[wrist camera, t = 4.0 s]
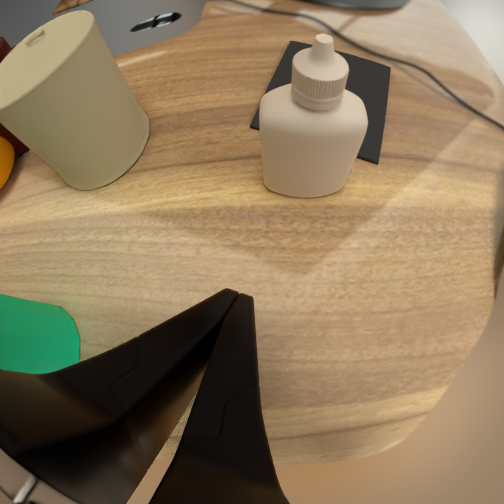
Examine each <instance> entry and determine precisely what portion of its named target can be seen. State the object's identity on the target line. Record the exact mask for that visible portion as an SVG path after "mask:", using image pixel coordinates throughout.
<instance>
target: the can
mask: <svg viewBox="0 0 504 504" xmlns="http://www.w3.org/2000/svg"><path fill="white" fill-rule="evenodd" d="M0 123H1V124H2V125H3V126H4V127H6V128H7V129H8V130H9V131H10V132H11V133H12V134H13V135H15V136H16V137H17V138H18V139H19V140H20V141H21V142H23V143H24V144H25V145H26V146H27V147H28V148H29V149H31V150H32V151H33V152H34V153H35V154H36V155H37V156H38V157H40V158H41V159H42V160H43V161H44V162H45V163H46V164H48V165H49V166H50V167H51V168H52V169H53V170H55V171H56V172H57V173H58V174H59V175H60V176H61V177H62V178H63V180H64V181H65V182H66V183H67V184H68V185H69V186H71V187H73V188H75V189H79V190H93V189H97V188H100V187H103V186H105V185H107V184H109V183H111V182H113V181H115V180H116V179H118V178H119V177H120V176H122V175H123V174H124V173H125V172H126V171H127V170H128V169H129V168H130V167H131V166H132V165H133V164H134V163H135V162H136V160H137V159H138V158H139V156H140V155H141V153H142V151H143V150H144V147H145V145H146V143H147V140H148V137H149V130H150V125H149V119H148V116H147V114H146V112H145V111H144V110H143V108H142V107H140V105H139V103H138V102H137V100H136V98H135V97H134V95H133V93H132V91H131V89H130V88H129V86H128V84H127V82H126V80H125V79H124V77H123V75H122V73H121V71H120V69H119V67H118V66H117V64H116V62H115V60H114V58H113V56H112V54H111V52H110V50H109V48H108V46H107V45H106V43H105V40H104V39H103V36H102V34H101V32H100V30H99V28H98V26H97V24H96V22H95V18H94V16H93V14H92V13H91V12H88V11H75V12H70V13H67V14H64V15H62V16H60V17H57V18H55V19H53V20H51V21H49V22H48V23H46V24H45V25H43V26H41V27H39V28H38V29H37V30H35V31H34V32H32V33H31V34H30V35H28V36H27V37H26V38H25V39H24V40H22V41H21V42H20V43H19V44H18V45H17V46H16V47H15V48H14V49H13V50H12V51H11V52H10V53H9V54H8V55H7V56H6V57H5V58H4V60H3V61H2V62H1V63H0Z"/></svg>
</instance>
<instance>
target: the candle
mask: <svg viewBox="0 0 504 504" xmlns="http://www.w3.org/2000/svg"><path fill="white" fill-rule="evenodd" d="M79 354H80V337H79V334H78V332H77V329H76V326H75V323H74V320H73V318H72V317H71V316H70V315H69V314H68V313H67V312H66V311H65V310H64V309H63V308H62V307H59V306H54V305H49V304H44V303H39V302H34V301H30V300H25V299H21V298H16V297H12V296H7V295H3V294H0V369H3V370H9V371H16V372H23V373H31V374H44V373H50V372H54V371H57V370H60V369H63V368H65V367H68V366H71V365H73V364H76V363H78V361H79Z"/></svg>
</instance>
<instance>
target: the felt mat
mask: <svg viewBox="0 0 504 504" xmlns="http://www.w3.org/2000/svg"><path fill="white" fill-rule="evenodd" d="M306 48H312V45H310V44H306V43H301V42H296V41H290V43H289V45H288V47H287V49H286V51H285V53H284V55H283V57H282V59H281V61H280V63H279V65H278V67H277V70H276V72H275V74H274V76H273V78H272V80H271V82H270V84H269V86H268V88H267V90H266V92H265V94H266V93H268V92H269V91H271V90H273V89H276V88H278V87H281V86H284V85H287V84H291V83H292V61H293V58H294V56H295V55H296V53H298V52H299V51H301V50H303V49H306ZM334 52H336V53H338V54H339V55H341V56H342V57H343V58H344V59H345V60H346V62H347V63H348V65H349V66H348V67H349V73H348V77H347V81H346V85H345V89H346V90H348V91H350V92H352V93H353V94H355V95H357V96H358V97H359V98H360V99H361V100H362V101H363V103H364V106H365V109H366V113H367V118H368V126H367V131H366V134H365V137H364V139H363V142H362V145H361V147H360V150H359V152H358V154H357V157H358V158H360V159H363V160H366V161H369V162H372V163H375V164H378V162H379V156H380V150H381V143H382V137H383V130H384V123H385V115H386V107H387V99H388V89H389V79H390V67H388V66H385V65H382V64H379V63H376V62H373V61H370V60H367V59H364V58H360V57H357V56H354V55H350V54H347V53H343V52H339V51H335V50H334ZM259 108H260V105H259V107H258V110H257V112H256V114H255V116H254V118H253V121H252V123H251V125H250V128H254V129H258V130H260V124H259Z"/></svg>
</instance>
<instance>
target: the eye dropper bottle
mask: <svg viewBox="0 0 504 504" xmlns="http://www.w3.org/2000/svg"><path fill="white" fill-rule="evenodd" d="M348 66H349V65H348V63H347V62H346V60H345V59H344V58H343V57H342V56H341V55H339V54H338V53H336V52H334V44H333V38H332V37H331V36H329V35H326V34H318V35H316V37H315V40H314V42H313V45H312V48H306V49H303V50H301V51H299V52H298V53H296V55H295V56H294V58H293V61H292V83H291V84H287V85H284V86H281V87H278V88H276V89H273V90H271V91H269V92H268V93H266V94H265V95H264V96H263V97H262V99H261V101H260V108H259V124H260V142H261V156H262V169H263V181H264V184H265V186H266V187H267V188H268V189H269V190H271V191H274V192H276V193H279V194H283V195H287V196H291V197H300V198H312V197H320V196H325V195H329V194H332V193H335V192H337V191H339V190H340V189H342V188H343V187H344V185H345V183H346V180H347V178H348V176H349V173H350V171H351V169H352V166H353V164H354V162H355V159H356V157H357V154H358V152H359V150H360V147H361V145H362V142H363V139H364V137H365V134H366V131H367V126H368V118H367V113H366V109H365V106H364V103H363V101H362V100H361V99H360V98H359V97H358V96H357V95H355V94H353V93H352V92H350V91H348V90H346V89H345V85H346V81H347V77H348V73H349V67H348Z"/></svg>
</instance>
